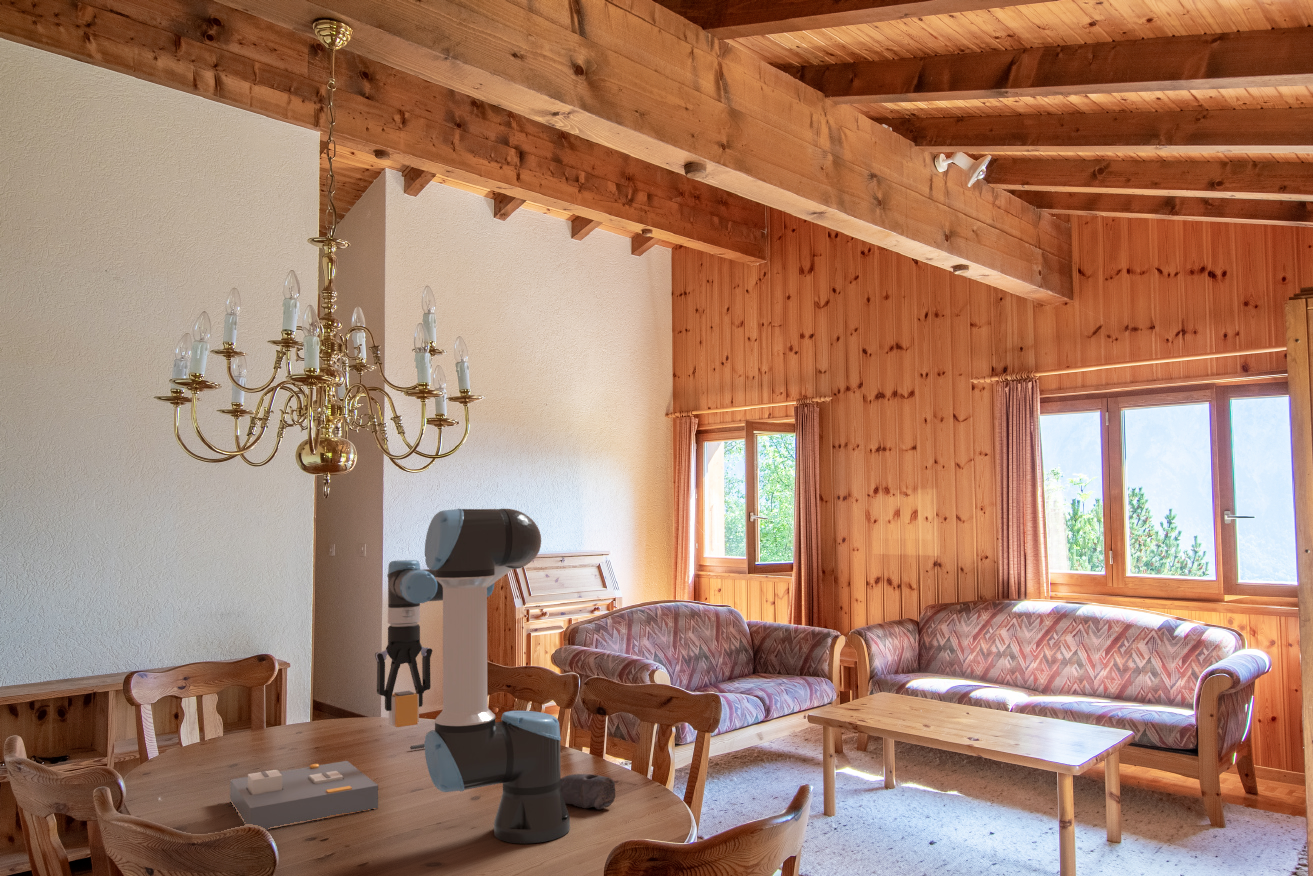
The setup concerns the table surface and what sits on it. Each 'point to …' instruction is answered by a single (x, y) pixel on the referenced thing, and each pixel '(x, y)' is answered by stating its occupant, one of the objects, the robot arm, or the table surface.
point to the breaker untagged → (264, 782)
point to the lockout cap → (406, 708)
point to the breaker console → (305, 796)
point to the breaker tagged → (325, 777)
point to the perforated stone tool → (588, 790)
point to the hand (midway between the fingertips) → (403, 722)
